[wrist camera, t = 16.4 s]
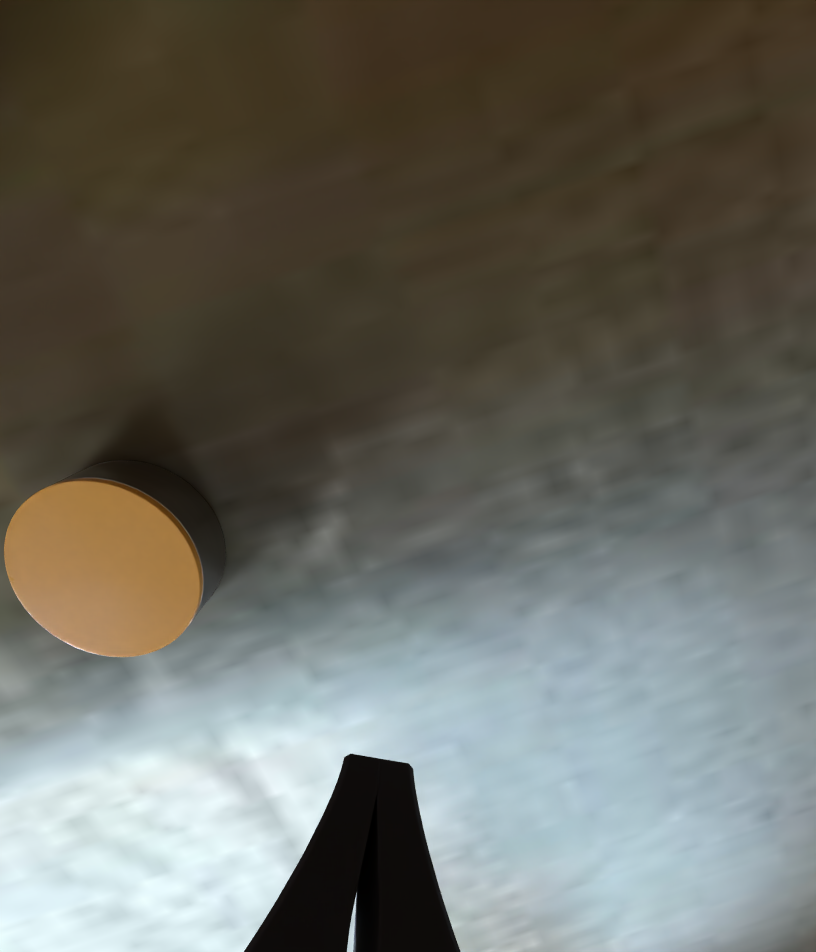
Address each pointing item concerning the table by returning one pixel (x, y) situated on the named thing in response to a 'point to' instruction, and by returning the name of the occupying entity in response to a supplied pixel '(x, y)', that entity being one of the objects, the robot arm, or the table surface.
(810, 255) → the table surface
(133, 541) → the cylinder
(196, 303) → the table surface
